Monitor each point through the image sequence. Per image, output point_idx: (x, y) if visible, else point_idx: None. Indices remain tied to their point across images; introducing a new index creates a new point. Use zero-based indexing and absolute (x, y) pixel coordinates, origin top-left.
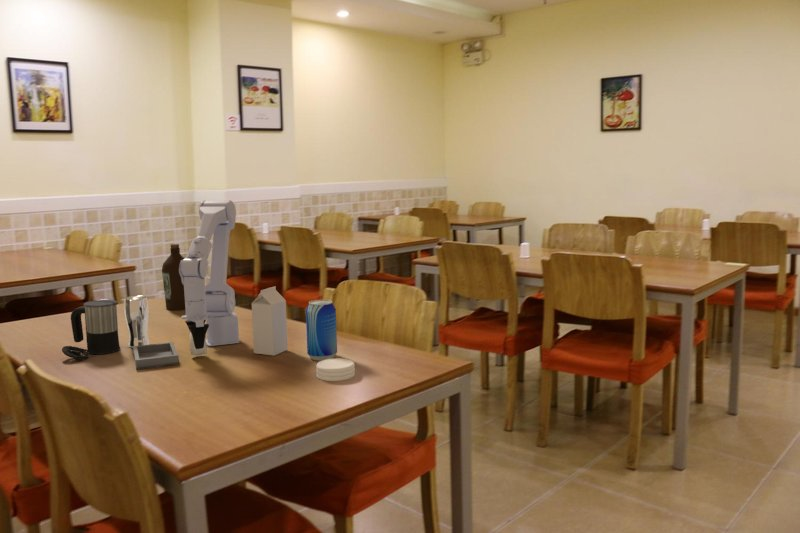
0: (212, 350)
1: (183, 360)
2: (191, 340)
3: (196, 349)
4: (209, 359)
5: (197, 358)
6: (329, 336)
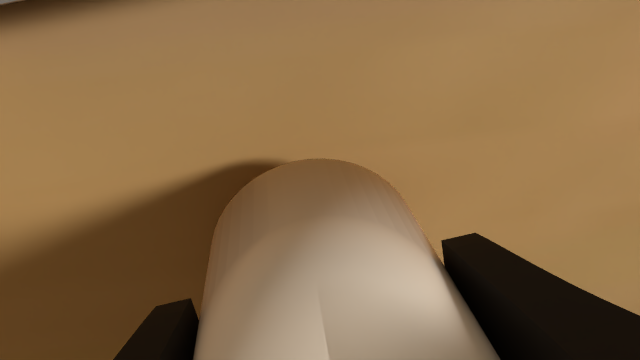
0: None
1: (191, 55)
2: (230, 326)
3: (203, 295)
4: None
5: None
6: None
